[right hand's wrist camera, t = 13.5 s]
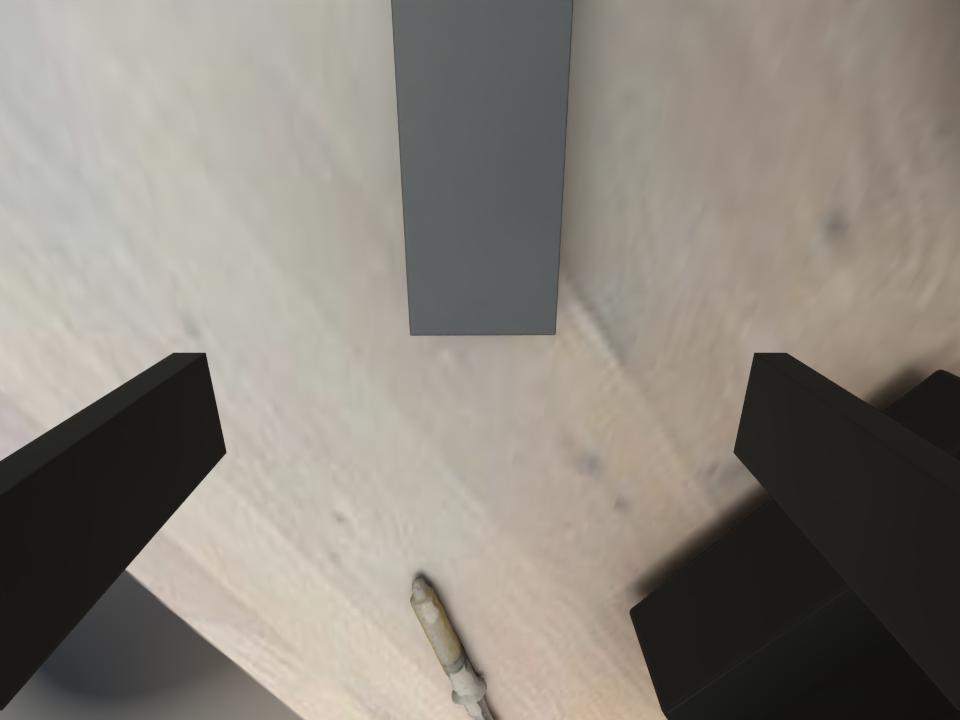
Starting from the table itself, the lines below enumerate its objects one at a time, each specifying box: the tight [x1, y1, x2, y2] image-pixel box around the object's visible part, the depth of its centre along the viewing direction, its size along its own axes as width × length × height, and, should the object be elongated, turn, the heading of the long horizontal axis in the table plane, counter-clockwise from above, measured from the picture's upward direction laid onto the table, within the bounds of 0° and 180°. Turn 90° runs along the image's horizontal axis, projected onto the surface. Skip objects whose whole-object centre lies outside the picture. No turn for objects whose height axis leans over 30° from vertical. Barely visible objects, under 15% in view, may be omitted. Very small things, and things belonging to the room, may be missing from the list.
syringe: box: [410, 577, 494, 720], centre depth 50 cm, size 25×4×3 cm, turn 16°
